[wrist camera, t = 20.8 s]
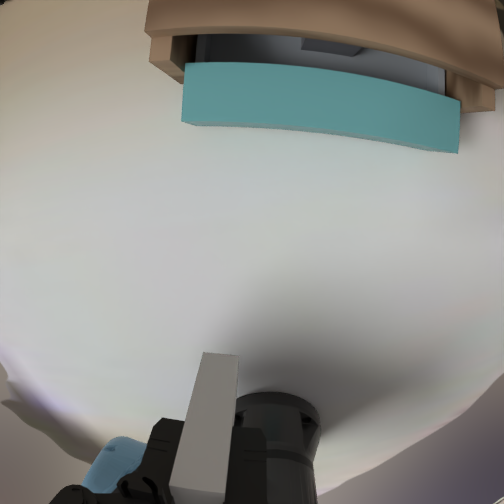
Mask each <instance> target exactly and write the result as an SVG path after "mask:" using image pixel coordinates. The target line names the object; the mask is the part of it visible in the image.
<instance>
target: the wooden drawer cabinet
mask: <svg viewBox="0 0 504 504" xmlns="http://www.w3.org/2000/svg"><path fill="white" fill-rule="evenodd" d="M144 32H146V33H147V34H148V35H149V36H150V37H151V38H152V39H151V48H150V57H149V62H150V63H152V64H153V65H154V66H156V67H157V68H159V69H160V70H162V71H163V72H165V73H166V74H167V75H169V76H170V77H172V78H173V79H174V80H176V81H177V82H179V83H180V84H184V74H185V63H195V58H196V47H197V37H198V34H264V35H279V36H291V37H301V38H310V39H318V40H325V41H332V42H338V43H344V44H349V45H355V46H360V47H365V48H370V49H374V50H379V51H383V52H387V53H391V54H395V55H399V56H403V57H406V58H410V59H413V60H417V61H420V62H423V63H427V64H430V65H433V66H436V67H439V68H442V69H444V71H445V96H446V97H449V98H452V99H455V100H458V101H460V113H470V112H484V111H495V89H502V88H504V57H503V48H502V40H501V33H500V27H499V21H498V15H497V10H496V5H495V1H494V0H149V5H148V11H147V17H146V23H145V30H144Z"/></svg>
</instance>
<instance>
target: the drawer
mask: <svg viewBox="0 0 504 504" xmlns="http://www.w3.org/2000/svg"><path fill="white" fill-rule="evenodd" d="M181 121H182V122H185V123H188V124H192V125H195V126H227V127H252V128H269V129H283V130H295V131H305V132H315V133H324V134H332V135H340V136H347V137H355V138H361V139H368V140H374V141H380V142H386V143H391V144H397V145H402V146H407V147H412V148H417V149H422V150H426V151H436V152H446V153H456V154H458V147H459V131H460V101H458V100H455V99H452V98H449V97H446V96H445V71H444V69H442V68H439V67H436V66H433V65H430V64H427V63H423V62H420V61H417V60H413V59H410V58H406V57H403V56H399V55H395V54H391V53H387V52H383V51H379V50H374V49H370V48H365V47H362V48H361V49H360V50H359V51H358V52H357V53H355V54H354V55H353V56H352V57H348V56H343V55H336V54H330V53H323V52H315V51H307V50H301V37H291V36H279V35H264V34H198V37H197V47H196V58H195V63H185V74H184V87H183V101H182V118H181Z"/></svg>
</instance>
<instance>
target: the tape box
mask: <svg viewBox="0 0 504 504" xmlns="http://www.w3.org/2000/svg"><path fill="white" fill-rule="evenodd" d="M361 48H362V47H360V46H355V45H349V44H344V43H338V42H332V41H325V40H318V39H310V38H301V50H307V51H315V52H323V53H330V54H336V55H343V56H348V57H352V56H353V55H354V54H355V53H357V52H358V51H359V50H360V49H361Z"/></svg>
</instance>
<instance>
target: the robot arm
mask: <svg viewBox="0 0 504 504" xmlns="http://www.w3.org/2000/svg"><path fill="white" fill-rule="evenodd" d="M238 366H239V356H235V355H224V354H214V353H205V352H203V355H202V359H201V363H200V367H199V370H198V374H197V378H196V381H195V385H194V389H193V393H192V396H191V400H190V404H189V408H188V412H187V415H186V419H185V421H179V420H173V419H167V418H161V419H160V420H159V421H158V422H157V423H156V424H155V425H154V426H153V429H152V432H151V434H150V437H149V440H148V443H147V444H146V443H143V442H140V441H137V440H134V439H131V438H129V437H124V436H120V437H116V438H113V439H112V440H110V441H109V442H108V443H107V444H106V445H105V446H104V448H103V449H102V450H101V452H100V453H99V455H98V456H97V458H96V459H95V461H94V462H93V464H92V466H91V468H90V469H89V471H88V473H87V475H86V476H85V478H84V480H83V482H82V485H69V486H66V487H64V488H63V489H62V490H60V492H59V493H58V494H57V495H56V496H55V497H54V498H53V500H52V501H51V502H50V503H49V504H318V502H317V493H316V485H315V477H314V469H313V461H314V458H315V454H316V451H317V447H318V443H319V439H320V436H321V425H320V419H319V415H318V413H317V411H316V410H315V408H314V407H313V406H312V405H311V404H309V403H308V402H307V401H305V400H303V399H301V398H299V397H296V396H293V395H289V394H284V393H274V392H266V393H256V394H251V395H247V396H244V397H241V398H238V399H236V396H237V381H238Z"/></svg>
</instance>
